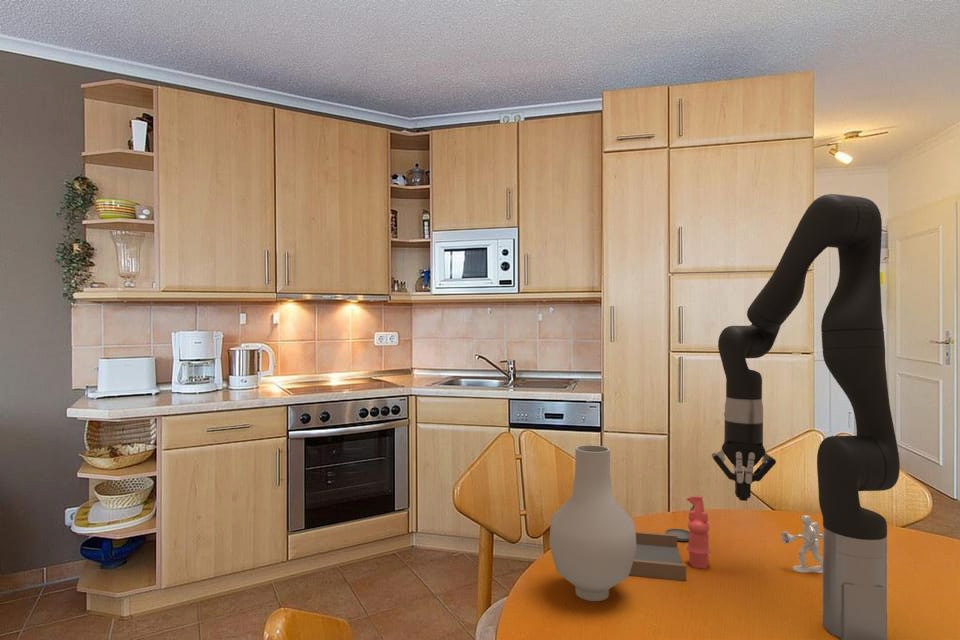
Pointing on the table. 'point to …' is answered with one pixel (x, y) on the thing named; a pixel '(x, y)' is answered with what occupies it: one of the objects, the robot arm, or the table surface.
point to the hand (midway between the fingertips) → (742, 499)
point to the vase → (592, 529)
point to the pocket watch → (680, 532)
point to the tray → (657, 557)
